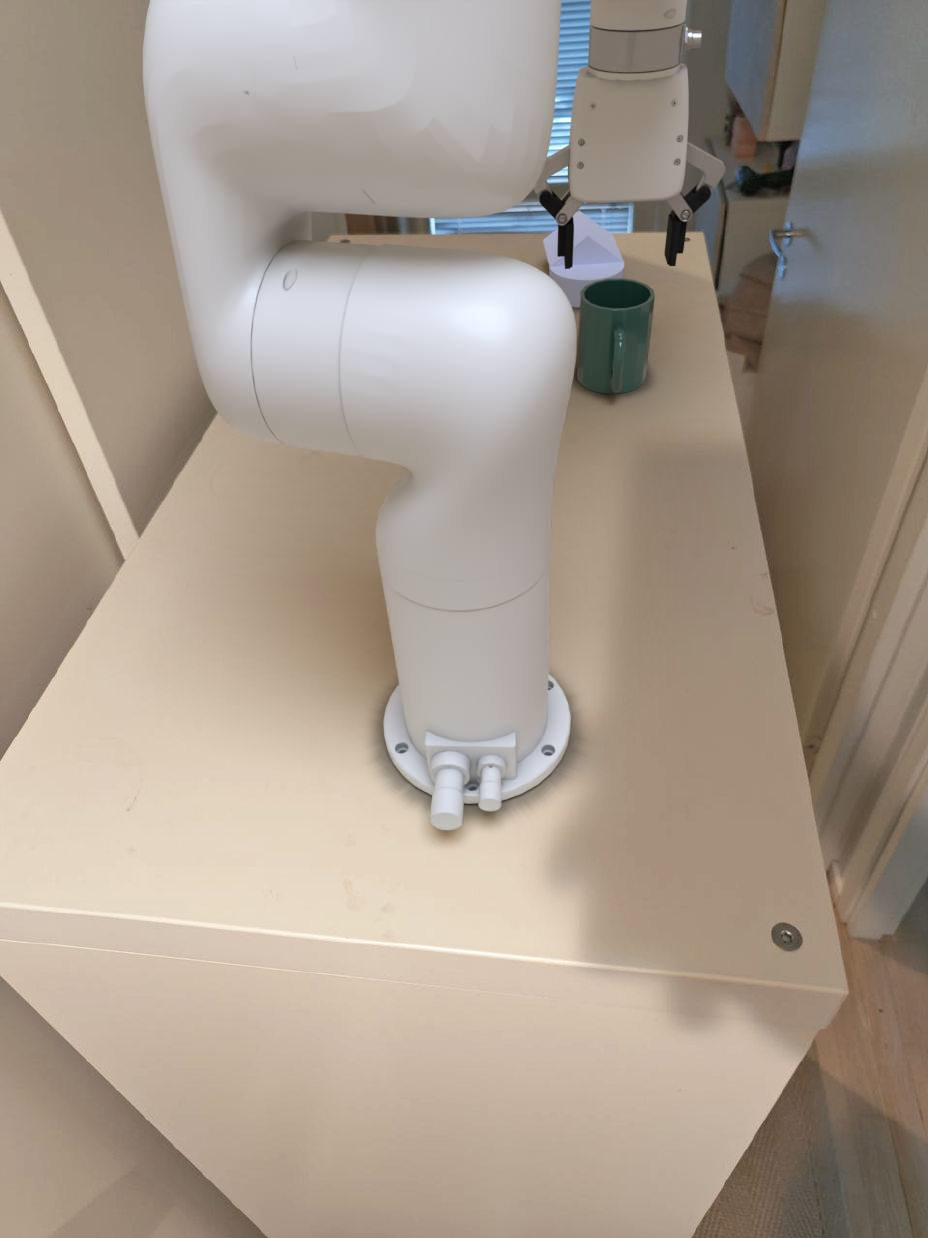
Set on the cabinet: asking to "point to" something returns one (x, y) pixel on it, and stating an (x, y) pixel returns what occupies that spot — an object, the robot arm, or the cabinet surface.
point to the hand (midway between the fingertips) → (618, 262)
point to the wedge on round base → (584, 258)
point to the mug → (614, 335)
